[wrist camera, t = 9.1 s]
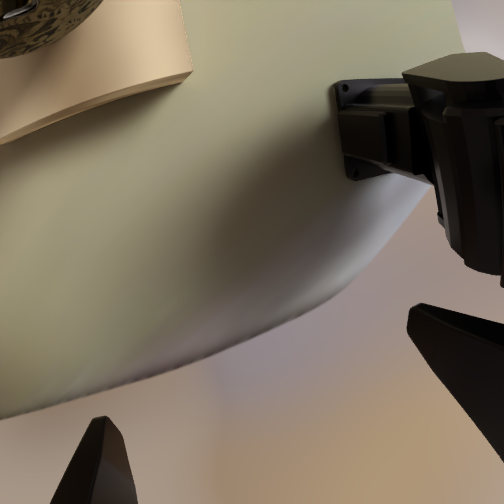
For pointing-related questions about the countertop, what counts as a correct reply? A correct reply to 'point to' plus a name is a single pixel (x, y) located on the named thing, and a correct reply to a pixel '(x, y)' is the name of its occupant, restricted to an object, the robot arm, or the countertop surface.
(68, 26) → the cup
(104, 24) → the pedestal
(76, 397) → the countertop surface
